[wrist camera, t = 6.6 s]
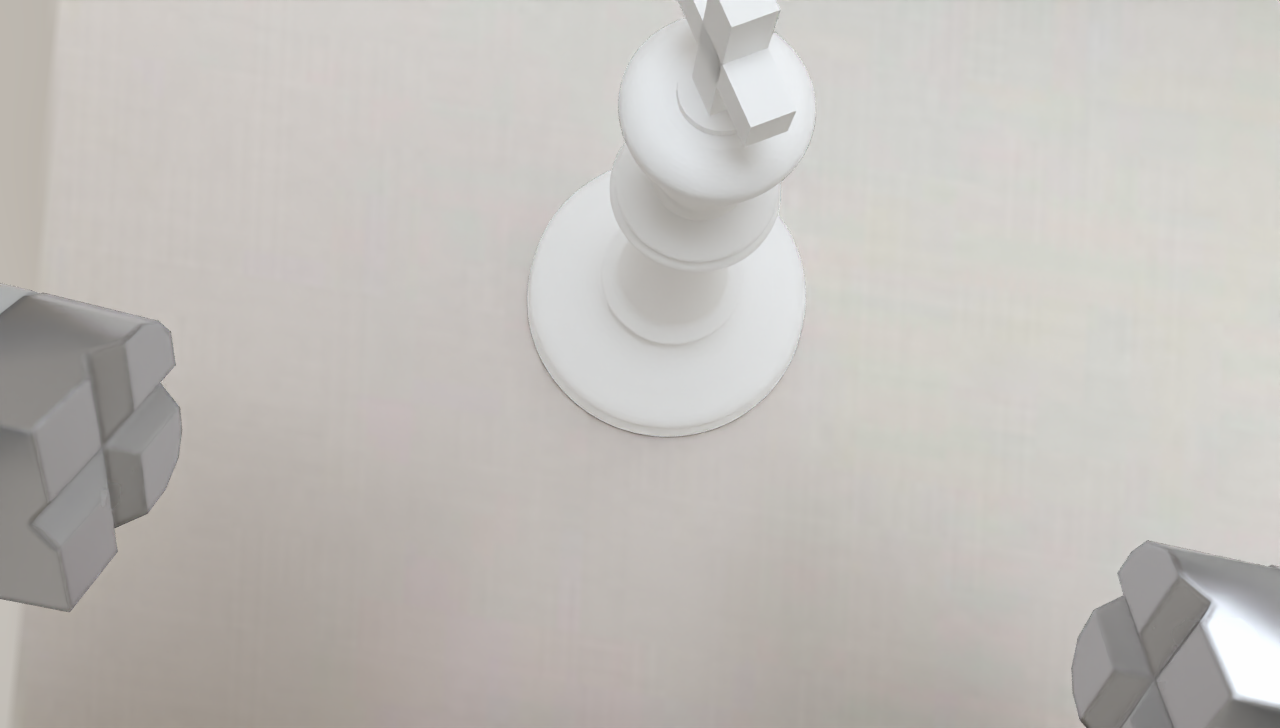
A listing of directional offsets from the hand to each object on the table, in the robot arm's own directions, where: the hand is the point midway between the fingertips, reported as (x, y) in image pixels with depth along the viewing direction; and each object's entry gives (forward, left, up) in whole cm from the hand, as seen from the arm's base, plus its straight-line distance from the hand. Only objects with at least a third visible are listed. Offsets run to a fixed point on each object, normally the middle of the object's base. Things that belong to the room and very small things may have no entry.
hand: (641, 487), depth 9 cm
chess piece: (+1, +4, -9) cm, 10 cm away
